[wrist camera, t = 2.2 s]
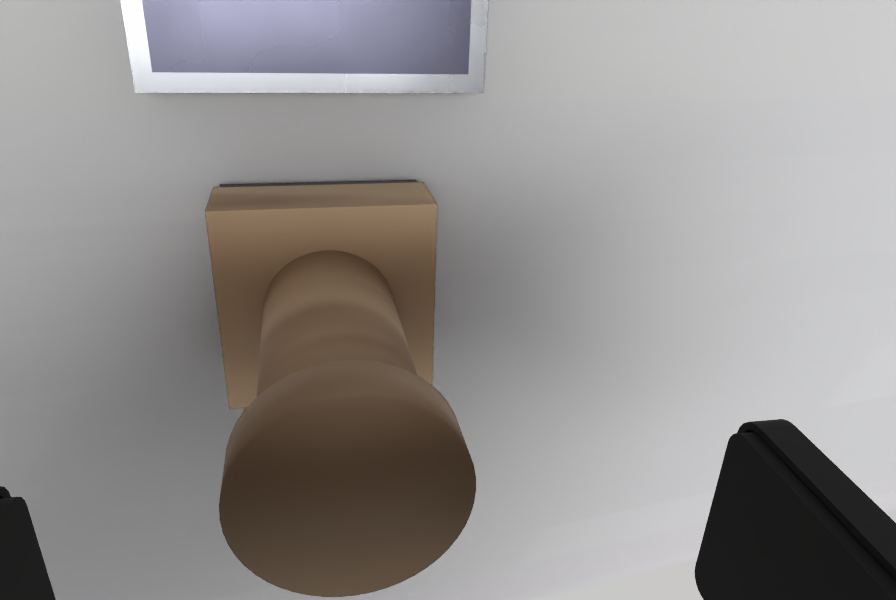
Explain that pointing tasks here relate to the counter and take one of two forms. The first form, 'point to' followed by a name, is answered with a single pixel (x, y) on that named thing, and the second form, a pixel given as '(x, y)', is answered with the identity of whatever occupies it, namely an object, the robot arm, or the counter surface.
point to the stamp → (334, 385)
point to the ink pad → (306, 46)
